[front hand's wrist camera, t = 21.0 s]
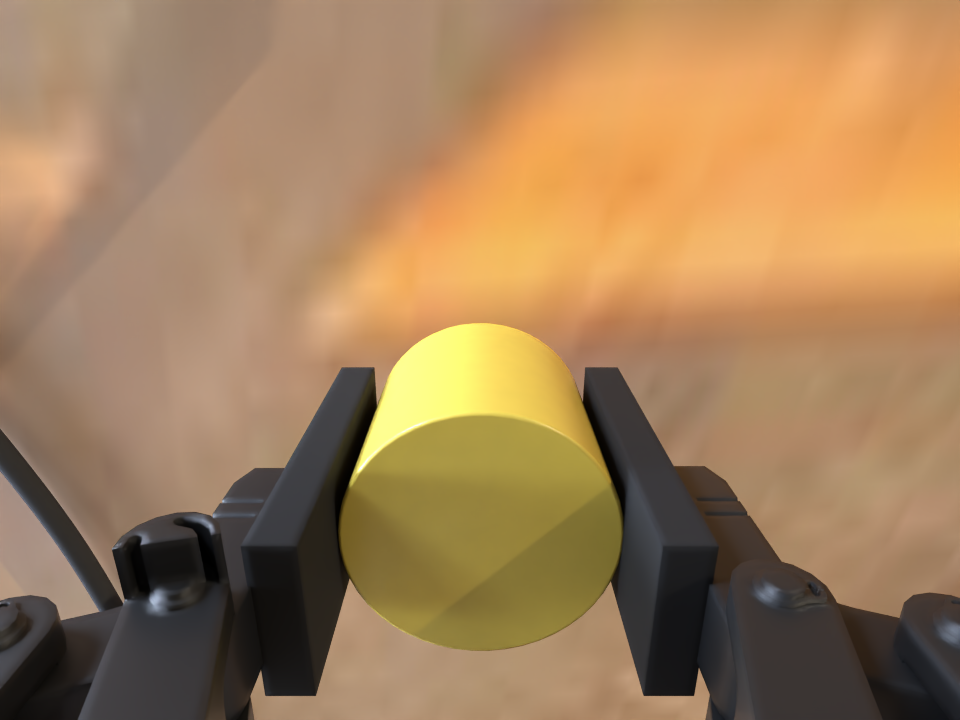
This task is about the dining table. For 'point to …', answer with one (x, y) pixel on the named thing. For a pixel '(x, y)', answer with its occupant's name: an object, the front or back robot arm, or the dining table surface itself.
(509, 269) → the dining table surface
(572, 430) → the cylinder
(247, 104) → the dining table surface
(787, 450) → the dining table surface
